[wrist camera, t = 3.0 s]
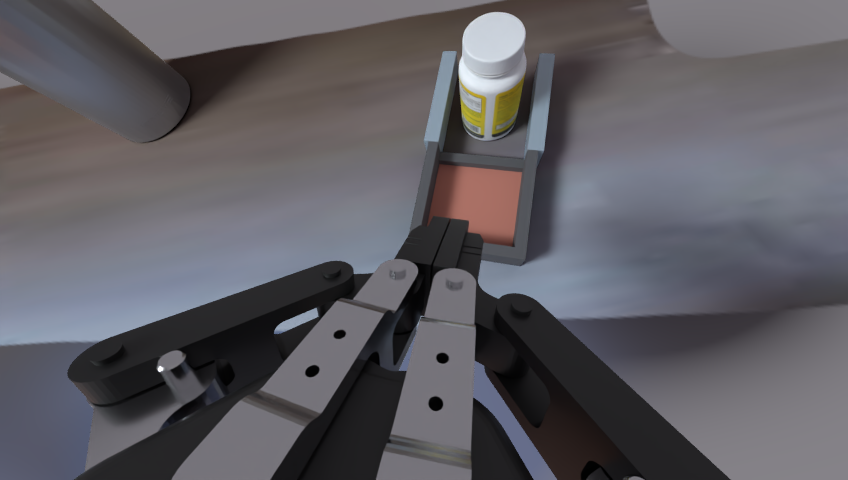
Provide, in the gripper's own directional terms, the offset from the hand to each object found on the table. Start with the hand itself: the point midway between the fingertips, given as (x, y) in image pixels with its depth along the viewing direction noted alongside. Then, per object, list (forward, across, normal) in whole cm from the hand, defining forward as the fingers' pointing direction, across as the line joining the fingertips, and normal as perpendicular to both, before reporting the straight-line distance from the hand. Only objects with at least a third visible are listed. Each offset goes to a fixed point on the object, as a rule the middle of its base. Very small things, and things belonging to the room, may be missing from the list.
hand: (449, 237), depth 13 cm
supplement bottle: (+19, 0, -2) cm, 19 cm away
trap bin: (+12, 0, +4) cm, 13 cm away
